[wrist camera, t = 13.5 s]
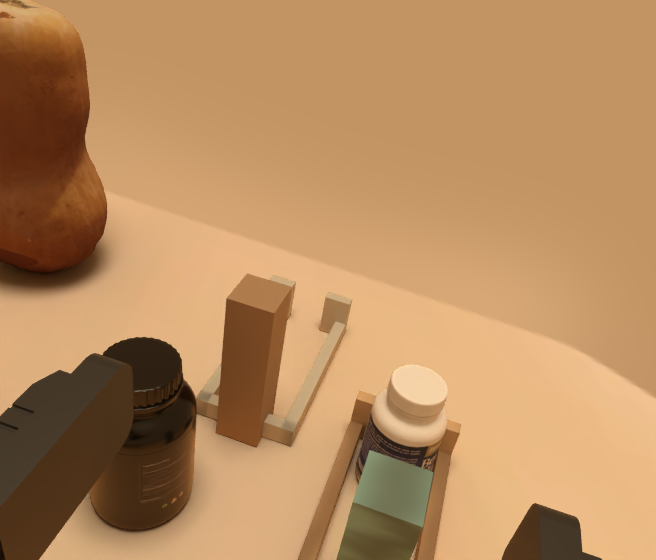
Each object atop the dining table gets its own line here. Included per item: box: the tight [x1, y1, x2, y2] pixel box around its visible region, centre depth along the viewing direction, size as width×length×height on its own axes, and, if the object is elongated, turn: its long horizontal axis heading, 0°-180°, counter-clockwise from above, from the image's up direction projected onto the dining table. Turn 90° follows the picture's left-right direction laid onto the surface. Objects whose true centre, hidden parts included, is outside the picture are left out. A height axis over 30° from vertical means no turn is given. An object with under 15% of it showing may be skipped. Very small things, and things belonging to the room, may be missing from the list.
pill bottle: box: [356, 365, 448, 482], centre depth 44 cm, size 5×5×10 cm
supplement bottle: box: [90, 337, 197, 530], centre depth 39 cm, size 7×7×12 cm
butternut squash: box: [0, 0, 107, 273], centre depth 56 cm, size 14×13×25 cm
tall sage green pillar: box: [298, 391, 461, 560], centre depth 39 cm, size 8×17×13 cm, turn 163°
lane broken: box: [196, 274, 352, 447], centre depth 51 cm, size 8×17×13 cm, turn 163°
